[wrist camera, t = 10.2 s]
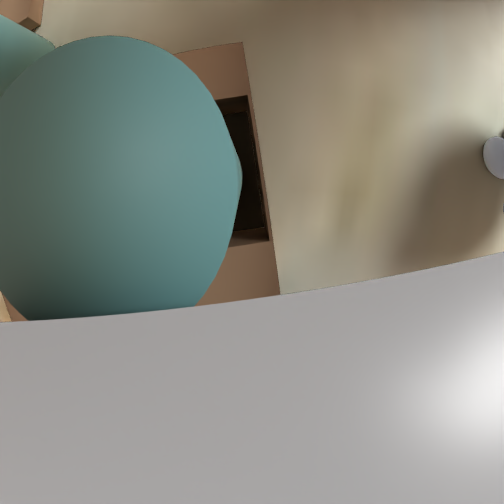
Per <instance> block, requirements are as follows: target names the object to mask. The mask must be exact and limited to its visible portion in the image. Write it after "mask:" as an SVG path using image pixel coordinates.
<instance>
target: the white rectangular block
mask: <svg viewBox="0 0 504 504" xmlns="http://www.w3.org/2000/svg"><path fill="white" fill-rule="evenodd" d="M0 504H504V252H500V253H496V254H492V255H487V256H483V257H479V258H475V259H470V260H466V261H461V262H457V263H452V264H448V265H443V266H438V267H434V268H429V269H424V270H419V271H414V272H409V273H404V274H399V275H394V276H389V277H383V278H378V279H373V280H367V281H362V282H356V283H351V284H345V285H339V286H333V287H327V288H321V289H315V290H309V291H303V292H296V293H290V294H283V295H277V296H270V297H263V298H256V299H249V300H241V301H234V302H226V303H219V304H211V305H203V306H195V307H186V308H177V309H168V310H159V311H150V312H140V313H129V314H119V315H107V316H95V317H83V318H69V319H54V320H37V321H18V322H0Z"/></svg>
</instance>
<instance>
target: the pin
mask: <svg viewBox="0 0 504 504" xmlns="http://www.w3.org/2000/svg"><path fill="white" fill-rule="evenodd" d="M54 49H55V47H54V45H53V44H52V43H51V42H49V41H48V40H46V39H44V38H43V37H41V36H39V35H37V34H36V33H34V32H32V31H30V30H28V29H27V28H25V27H23V26H21V25H19V24H17V23H16V22H14V21H12V20H10V19H8V18H6V17H4V16H3V15H1V14H0V97H1V96H2V94H3V93H4V92H5V90H6V89H7V88H8V87H9V86H10V84H11V83H12V82H13V81H14V80H15V79H16V78H17V77H18V76H19V75H20V74H21V73H22V72H23V71H24V70H25V69H26V68H27V67H28V66H30V65H31V64H32V63H34V62H35V61H36V60H38V59H39V58H40V57H42V56H44V55H45V54H47V53H49V52H51V51H52V50H54Z"/></svg>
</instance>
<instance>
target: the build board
mask: <svg viewBox="0 0 504 504" xmlns="http://www.w3.org/2000/svg"><path fill="white" fill-rule="evenodd" d="M245 111H247V114H248V121H249V127H250V133H251V140H252V146H253V153H254V159H255V166H256V173H257V179H258V186H259V193H260V199H261V206H262V213H263V220H264V227H262V228H256V229H249V230H242V231H236V232H232V231H233V226H234V221H235V216H236V212H237V207H238V202H239V197H240V193H241V188H242V182H243V173H242V167H241V164H240V161H239V158H238V155H237V153H236V150H235V148H234V145H233V142H232V140H231V137H230V134H229V132H228V129H227V126H226V124H225V121H224V119H223V116H222V115H225V114H231V113H238V112H245ZM0 291H1V292H2V295H3V298H4V301H5V304H6V307H7V310H8V312H9V315H10V318H11V321H12V322H18V321H37V320H54V319H69V318H83V317H95V316H107V315H119V314H129V313H140V312H150V311H159V310H168V309H177V308H186V307H195V306H203V305H211V304H219V303H226V302H234V301H241V300H249V299H256V298H263V297H270V296H277V295H280V288H279V281H278V273H277V266H276V258H275V251H274V243H273V236H272V229H271V222H270V215H269V208H268V201H267V194H266V187H265V180H264V173H263V167H262V160H261V153H260V147H259V141H258V134H257V128H256V121H255V115H254V109H253V103H252V97H251V90H250V84H249V78H248V72H247V67H246V61H245V55H244V49H243V43H242V42H239V43H232V44H225V45H219V46H213V47H207V48H202V49H196V50H191V51H187V52H182V53H177V54H173V55H172V54H170V53H169V52H167V51H166V50H164V49H162V48H159V47H157V46H155V45H153V44H150V43H148V42H145V41H142V40H138V39H134V38H130V37H121V36H98V37H90V38H85V39H81V40H77V41H73V42H71V43H68V44H65V45H63V46H60V47H58V48H56V49H54V50H52V51H51V52H49V53H47V54H45V55H44V56H42V57H40V58H39V59H38V60H36V61H35V62H34V63H32V64H31V65H30V66H28V67H27V68H26V69H25V70H24V71H23V72H22V73H21V74H20V75H19V76H18V77H17V78H16V79H15V80H14V81H13V82H12V83H11V84H10V86H9V87H8V88H7V89H6V90H5V92H4V93H3V94H2V96H1V97H0Z"/></svg>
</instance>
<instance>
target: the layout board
mask: <svg viewBox="0 0 504 504" xmlns="http://www.w3.org/2000/svg"><path fill="white" fill-rule="evenodd" d="M43 3H44V0H0V14H1V15H3V16H4V17H6V18H8V19H10V20H12V21H14V22H16V23H17V24H19V25H21V26H23V27H25V28H27V29H28V30H30V31H31V30H33V29H34V28H36V27H38V26H40V25H41V18H42V10H43Z"/></svg>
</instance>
